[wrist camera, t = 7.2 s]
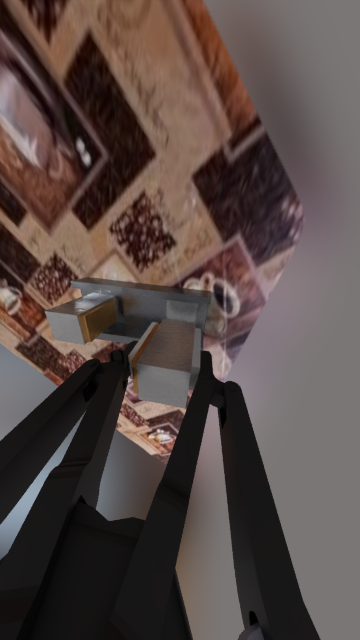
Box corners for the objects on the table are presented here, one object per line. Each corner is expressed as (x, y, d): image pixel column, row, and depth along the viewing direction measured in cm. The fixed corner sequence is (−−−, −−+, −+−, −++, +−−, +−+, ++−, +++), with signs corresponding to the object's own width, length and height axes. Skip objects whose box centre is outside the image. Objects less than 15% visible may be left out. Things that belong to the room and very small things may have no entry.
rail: (87, 277, 25) (22, 292, 16) (209, 291, 23) (214, 316, 14) (95, 318, 28) (46, 350, 19) (202, 333, 26) (202, 376, 17)
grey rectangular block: (158, 317, 18) (128, 362, 11) (195, 322, 17) (190, 372, 10) (158, 344, 19) (132, 397, 12) (191, 349, 19) (185, 408, 12)
